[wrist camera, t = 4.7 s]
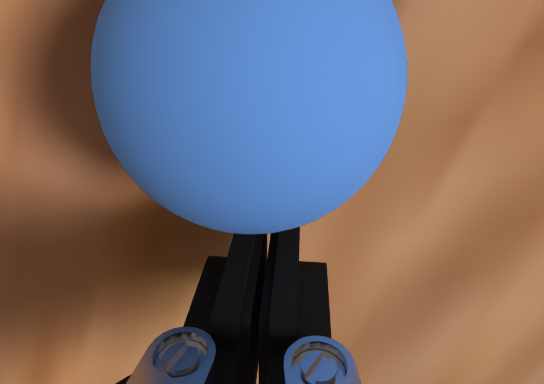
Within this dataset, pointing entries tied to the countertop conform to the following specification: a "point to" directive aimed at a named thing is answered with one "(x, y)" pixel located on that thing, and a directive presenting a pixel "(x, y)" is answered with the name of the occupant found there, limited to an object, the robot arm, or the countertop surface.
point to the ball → (249, 103)
